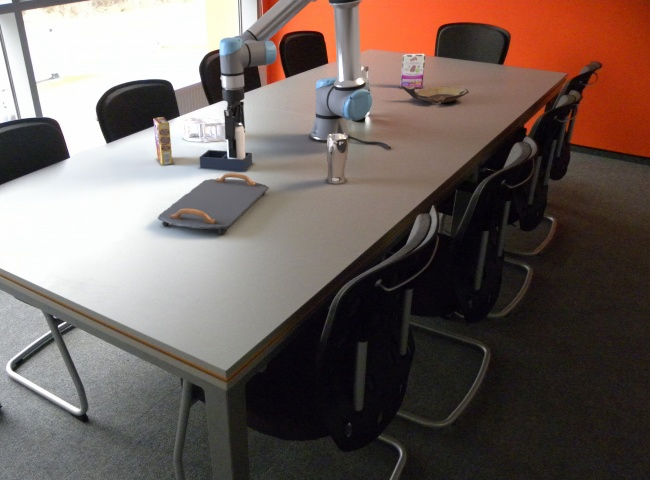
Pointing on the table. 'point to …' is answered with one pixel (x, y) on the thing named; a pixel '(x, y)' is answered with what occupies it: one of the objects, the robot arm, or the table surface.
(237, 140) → the can
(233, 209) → the serving tray
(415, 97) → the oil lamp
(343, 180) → the beer glass
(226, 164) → the tray
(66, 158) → the table surface
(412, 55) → the candy bar box
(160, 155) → the candy box
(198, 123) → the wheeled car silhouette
